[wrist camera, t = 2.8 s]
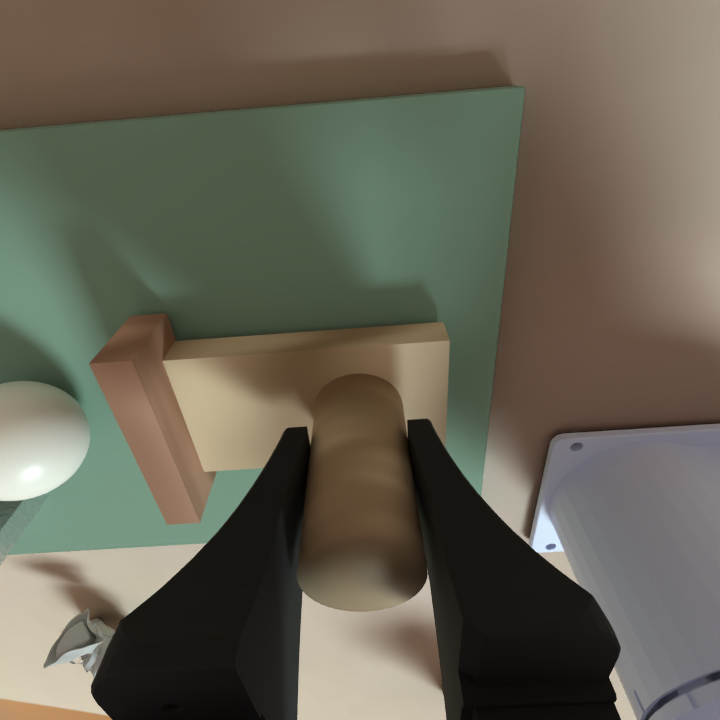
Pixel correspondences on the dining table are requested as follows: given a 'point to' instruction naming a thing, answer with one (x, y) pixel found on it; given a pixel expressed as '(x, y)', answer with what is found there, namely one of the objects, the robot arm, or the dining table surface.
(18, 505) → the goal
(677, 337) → the dining table surface
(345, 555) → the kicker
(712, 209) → the dining table surface
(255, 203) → the pitch
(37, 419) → the ball
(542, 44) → the dining table surface
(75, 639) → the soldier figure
